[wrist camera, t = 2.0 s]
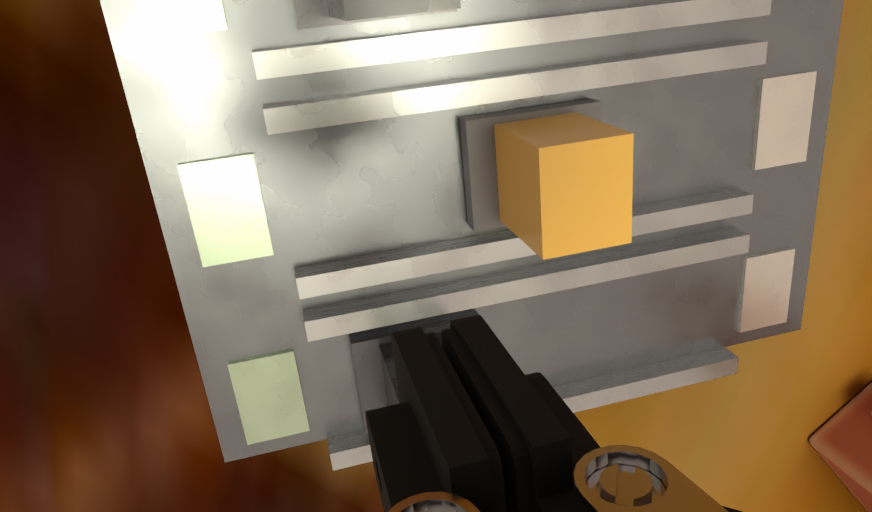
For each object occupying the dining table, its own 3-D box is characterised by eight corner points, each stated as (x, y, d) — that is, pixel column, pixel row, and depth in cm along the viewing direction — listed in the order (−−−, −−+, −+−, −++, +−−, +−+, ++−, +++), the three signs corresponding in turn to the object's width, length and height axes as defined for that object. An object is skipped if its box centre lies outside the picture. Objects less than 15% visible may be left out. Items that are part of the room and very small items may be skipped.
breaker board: (76, -141, 20) (-9, -206, 13) (824, -187, 25) (1017, -251, 18) (231, 447, 28) (223, 576, 22) (768, 325, 33) (888, 401, 27)
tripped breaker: (458, 117, 23) (505, 145, 19) (591, 98, 24) (664, 120, 20) (468, 224, 25) (512, 273, 20) (591, 202, 26) (659, 244, 21)
